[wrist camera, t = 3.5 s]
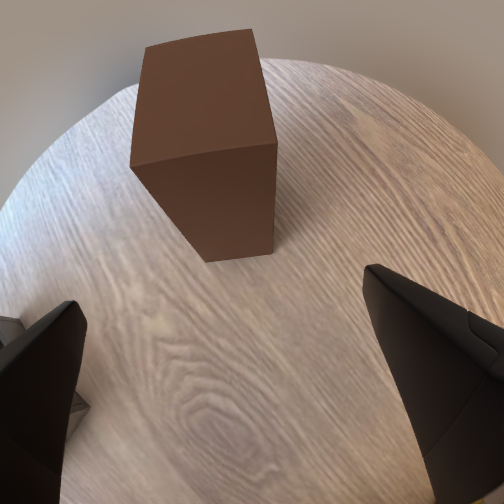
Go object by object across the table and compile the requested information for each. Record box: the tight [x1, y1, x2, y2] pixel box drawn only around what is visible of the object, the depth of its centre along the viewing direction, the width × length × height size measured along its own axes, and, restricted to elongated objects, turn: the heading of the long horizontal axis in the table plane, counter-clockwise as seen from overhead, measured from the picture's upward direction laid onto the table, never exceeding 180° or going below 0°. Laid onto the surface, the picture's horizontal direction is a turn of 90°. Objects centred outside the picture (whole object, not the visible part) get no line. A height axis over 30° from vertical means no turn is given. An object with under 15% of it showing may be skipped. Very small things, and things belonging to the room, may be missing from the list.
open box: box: [0, 316, 90, 444], centre depth 18 cm, size 11×11×4 cm
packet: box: [130, 29, 278, 262], centre depth 17 cm, size 7×5×14 cm
